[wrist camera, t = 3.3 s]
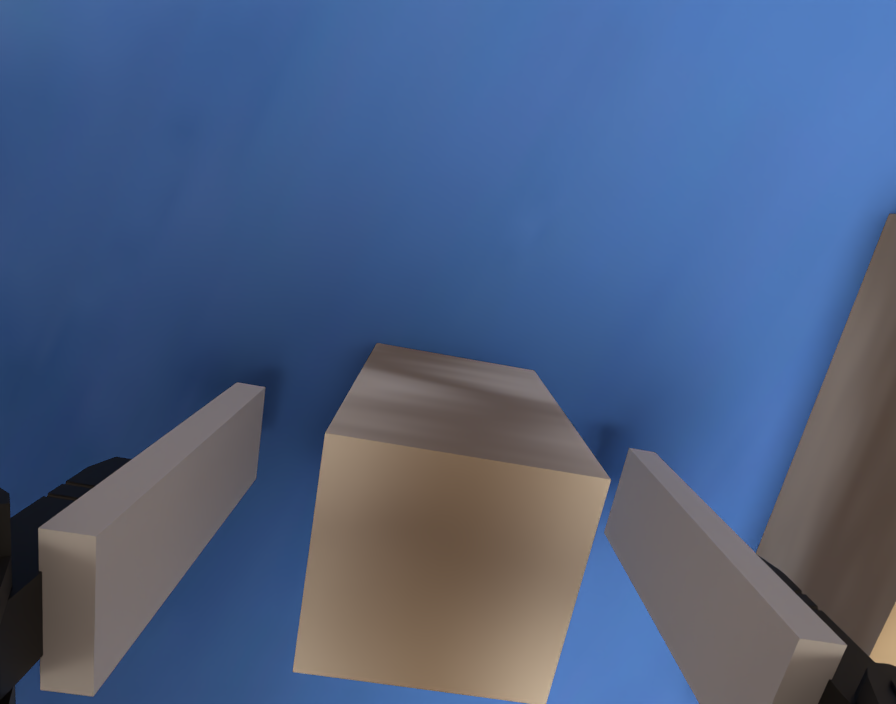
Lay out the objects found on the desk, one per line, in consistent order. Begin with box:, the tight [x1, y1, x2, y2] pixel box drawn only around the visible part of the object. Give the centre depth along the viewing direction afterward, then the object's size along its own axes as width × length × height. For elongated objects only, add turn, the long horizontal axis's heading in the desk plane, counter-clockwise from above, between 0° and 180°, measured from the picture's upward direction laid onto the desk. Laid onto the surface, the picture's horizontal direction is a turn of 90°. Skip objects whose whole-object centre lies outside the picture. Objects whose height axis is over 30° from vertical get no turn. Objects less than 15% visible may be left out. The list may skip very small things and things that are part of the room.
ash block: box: [293, 343, 611, 704], centre depth 12 cm, size 5×5×7 cm
